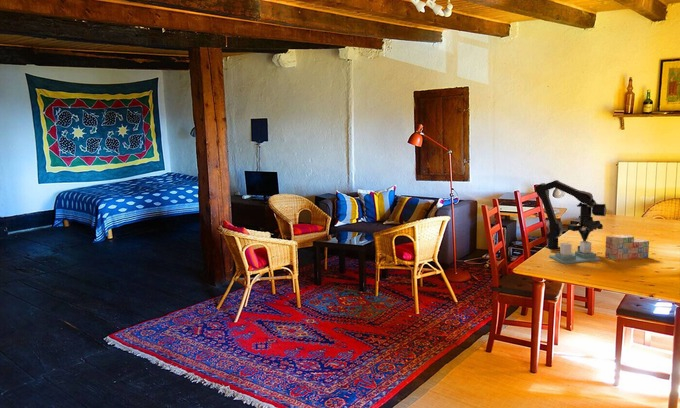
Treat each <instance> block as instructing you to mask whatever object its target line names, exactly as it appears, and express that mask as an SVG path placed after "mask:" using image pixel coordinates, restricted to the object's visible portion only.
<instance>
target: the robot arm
mask: <svg viewBox="0 0 680 408" xmlns="http://www.w3.org/2000/svg"><path fill="white" fill-rule="evenodd" d="M554 188H555V189H557V190H559V191H562V192H564V193H566V194H568V195H570V196H572V197H574V198H575V199H577V201H579V203H578V204H576V207H578V208H580V209H579V210H580V211H579V212H580V215H578V218H579V222H578V223H577V224H576V223H575V224H574V223H573V224H568V225H567V230H568V231H571V232H578V233H579V235H580V237H581V239H582V241H588V238H589V235H590V234H591V232H593V231H595V230H603V228H604V227H603V224H602V223H601V221H600V220H594V217H593V216H596V217H597V216H598V217H606V215H607V205H606V203H597V202H596V200H595V199H594V196H593V194H592V193H591V192H590V191H589V192H588V191H585V190H581V189H580V190H579V189H576V188H575V187H572V186H570V185H568V184H565V183H563V182H561V181H560V180H558V179H555V180H553V181H551V182H548V183H545V182H543V183H539V184H537V185H536V186H535V188H534V190H535V193H536V194H537V196H538V197H539V198H540V200H541V203H542V205H543V208H544V211H545V214H546V216H547V220H548V222H549V223H548V225H549V226H548V227H549V228H548V230H549V232H548V233H547V234H546V235H545V238H546V239H547V241H546V242H547V243H546V244H547V245H544V247H545V248H547V249H549V250H556V249H558V250H559V249H560V246H559V236H560V235H561V234H562V233H563V232H564V228H565V227H564V226H563V223H562V221H559V220H558V219H557V217H556V214H555V211H554V210H555V209H554V208H553V205H552V203H551V198H550V190H552V189H554ZM592 215H593V216H592Z"/></svg>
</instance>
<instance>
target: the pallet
mask: <svg viewBox="0 0 680 408" xmlns="http://www.w3.org/2000/svg"><path fill="white" fill-rule="evenodd" d="M572 245H573V244H572V243H569V242H560V246H559V247H560V248H559V249H560V250H559V251H560V252H556V253H555V254H551V255H549V256H548V257H549V258H550V259H552V260H554V261H556V262H558V263H561V264H563V265H569V264H578V263H579V262H580V263H589V261H591V262H600V261H601V260H602V259H601V258H600V257H597V253H595V252H593V251H591V254H582V253H580V251H578V250H576V251H574V253H572Z"/></svg>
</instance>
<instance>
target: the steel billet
mask: <svg viewBox="0 0 680 408" xmlns="http://www.w3.org/2000/svg"><path fill="white" fill-rule="evenodd" d="M579 246H580V253H582V254H591V252H592V242H591V241H588V240H586V241H583V240H582V241H580V242H579Z"/></svg>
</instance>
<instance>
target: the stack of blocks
mask: <svg viewBox="0 0 680 408" xmlns="http://www.w3.org/2000/svg"><path fill="white" fill-rule="evenodd" d="M649 250H650V241H649V240H646V239H643V238H635V236H633V235H630V234H617V235H616V234H615V235H606V236H605V254H604V256H605V258H606V257H607V258H606V259H608V258H609V259H608V260H611V261H617V260H618V259H620V260H631V259H643V258H644V259H645V258H649V254H650V253H649V252H650V251H649ZM618 261H619V260H618Z"/></svg>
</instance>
